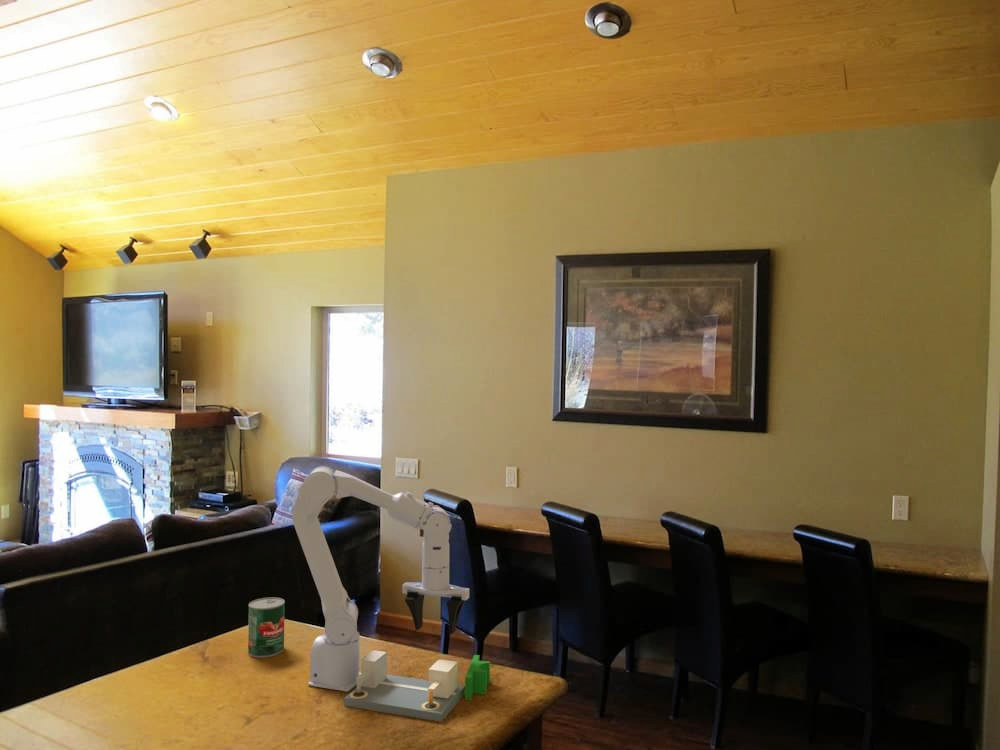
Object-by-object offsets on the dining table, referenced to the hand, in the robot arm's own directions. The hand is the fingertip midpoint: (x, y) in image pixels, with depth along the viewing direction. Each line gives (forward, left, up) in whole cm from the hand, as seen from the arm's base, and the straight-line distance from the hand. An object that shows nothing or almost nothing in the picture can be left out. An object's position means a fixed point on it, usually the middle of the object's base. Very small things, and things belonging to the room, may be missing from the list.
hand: (435, 630), depth 143 cm
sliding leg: (+6, -12, -8) cm, 15 cm away
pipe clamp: (+11, -3, -10) cm, 15 cm away
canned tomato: (-42, 0, -10) cm, 43 cm away
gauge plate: (-1, -12, -9) cm, 15 cm away
